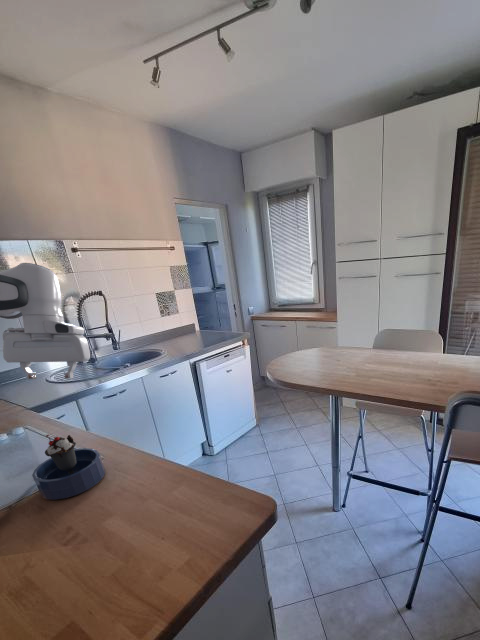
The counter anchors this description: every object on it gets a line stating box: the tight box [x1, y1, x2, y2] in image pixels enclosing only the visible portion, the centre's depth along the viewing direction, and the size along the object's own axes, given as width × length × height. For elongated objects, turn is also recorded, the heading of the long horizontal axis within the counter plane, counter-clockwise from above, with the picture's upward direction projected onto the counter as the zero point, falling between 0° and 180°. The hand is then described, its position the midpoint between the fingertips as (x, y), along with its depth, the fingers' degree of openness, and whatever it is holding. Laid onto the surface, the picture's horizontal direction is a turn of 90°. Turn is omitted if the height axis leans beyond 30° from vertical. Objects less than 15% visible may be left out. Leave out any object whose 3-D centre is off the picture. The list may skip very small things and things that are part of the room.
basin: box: [31, 447, 106, 501], centre depth 87 cm, size 15×15×6 cm
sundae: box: [44, 434, 77, 475], centre depth 85 cm, size 7×7×15 cm
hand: (50, 378), depth 92 cm, fingers open, 8 cm apart
